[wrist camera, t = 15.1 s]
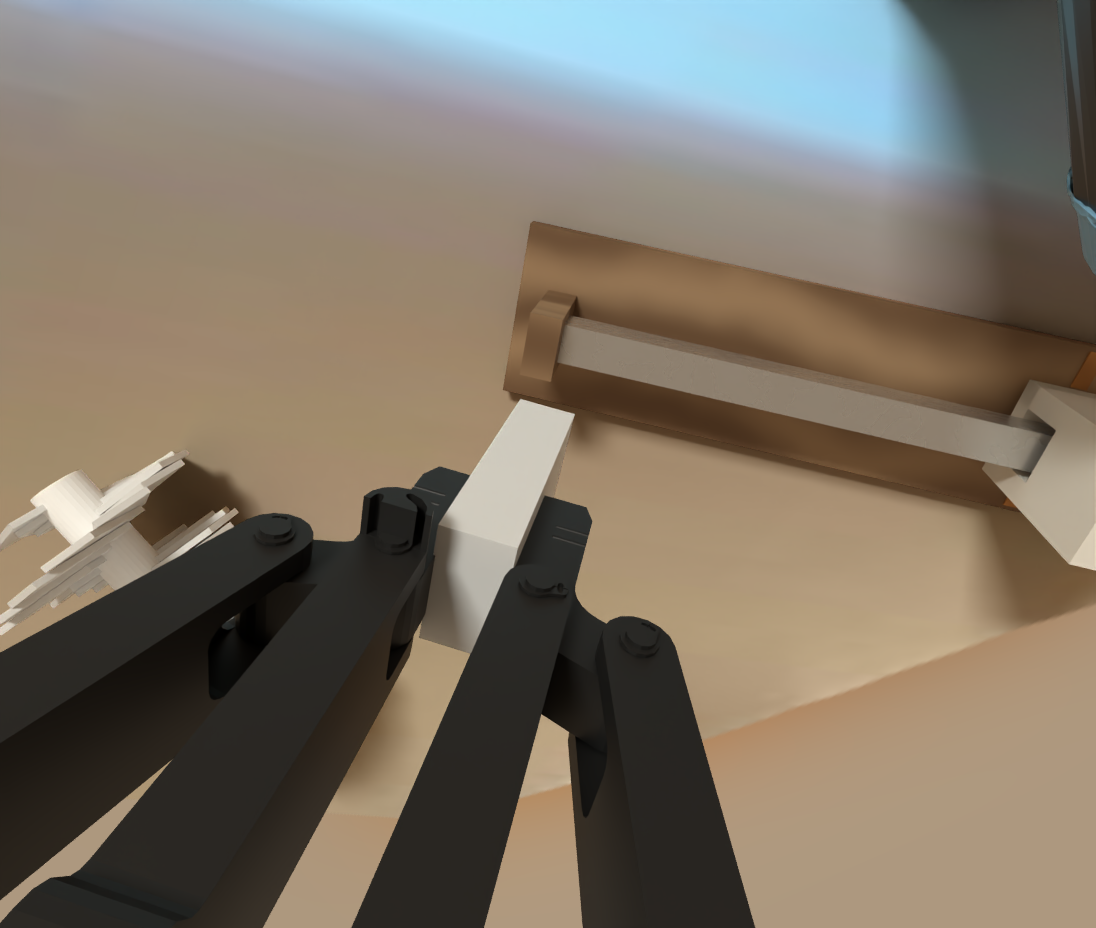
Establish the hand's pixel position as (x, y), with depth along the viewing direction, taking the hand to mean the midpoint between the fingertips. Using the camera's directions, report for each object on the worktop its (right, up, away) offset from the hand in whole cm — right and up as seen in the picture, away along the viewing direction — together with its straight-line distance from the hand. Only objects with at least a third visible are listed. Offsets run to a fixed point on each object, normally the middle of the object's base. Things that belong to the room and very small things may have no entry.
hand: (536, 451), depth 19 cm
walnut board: (+21, +6, +29) cm, 36 cm away
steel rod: (+21, +4, +26) cm, 34 cm away
